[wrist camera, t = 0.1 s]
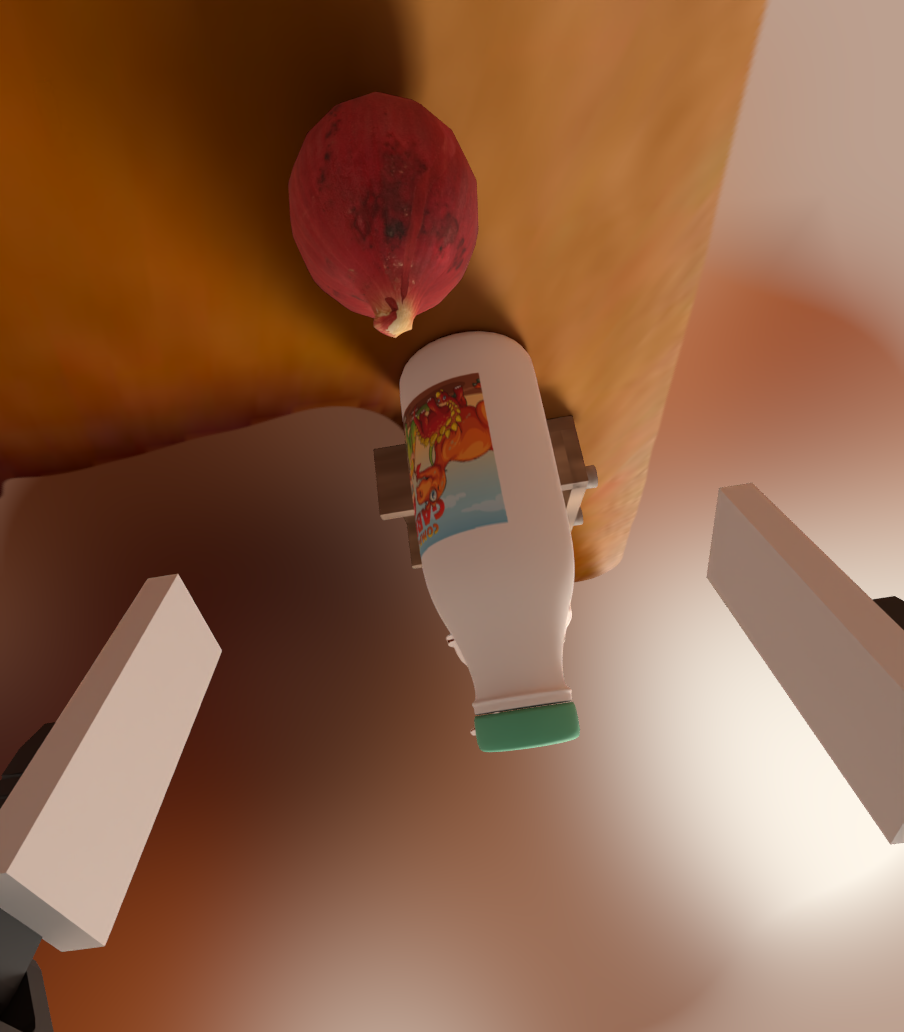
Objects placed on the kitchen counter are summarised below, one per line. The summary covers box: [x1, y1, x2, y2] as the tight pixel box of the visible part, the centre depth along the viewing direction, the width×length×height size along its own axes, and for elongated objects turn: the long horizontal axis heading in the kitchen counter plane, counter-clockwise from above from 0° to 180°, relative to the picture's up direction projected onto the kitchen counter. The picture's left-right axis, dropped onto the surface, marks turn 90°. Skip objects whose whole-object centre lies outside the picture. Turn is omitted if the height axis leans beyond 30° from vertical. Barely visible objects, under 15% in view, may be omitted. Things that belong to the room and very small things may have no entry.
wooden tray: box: [374, 416, 598, 569], centre depth 43 cm, size 14×15×5 cm
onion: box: [288, 92, 478, 338], centre depth 17 cm, size 6×6×8 cm
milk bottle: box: [399, 331, 580, 752], centre depth 28 cm, size 8×8×20 cm
